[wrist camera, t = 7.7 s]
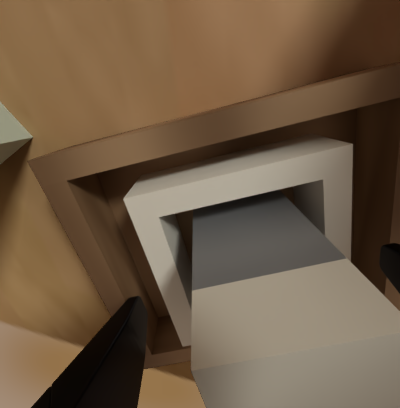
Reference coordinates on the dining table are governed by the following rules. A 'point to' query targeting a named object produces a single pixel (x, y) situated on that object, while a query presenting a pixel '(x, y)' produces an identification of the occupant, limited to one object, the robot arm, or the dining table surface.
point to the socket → (235, 189)
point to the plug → (285, 314)
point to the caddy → (213, 147)
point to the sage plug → (10, 134)
